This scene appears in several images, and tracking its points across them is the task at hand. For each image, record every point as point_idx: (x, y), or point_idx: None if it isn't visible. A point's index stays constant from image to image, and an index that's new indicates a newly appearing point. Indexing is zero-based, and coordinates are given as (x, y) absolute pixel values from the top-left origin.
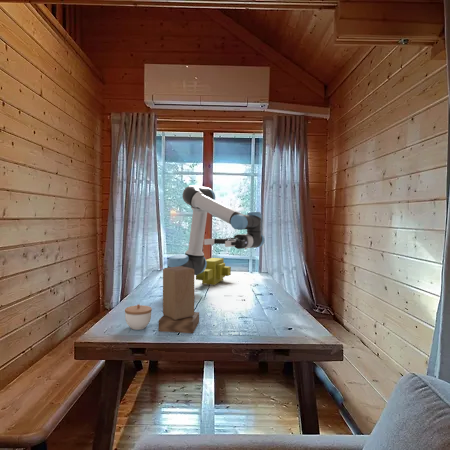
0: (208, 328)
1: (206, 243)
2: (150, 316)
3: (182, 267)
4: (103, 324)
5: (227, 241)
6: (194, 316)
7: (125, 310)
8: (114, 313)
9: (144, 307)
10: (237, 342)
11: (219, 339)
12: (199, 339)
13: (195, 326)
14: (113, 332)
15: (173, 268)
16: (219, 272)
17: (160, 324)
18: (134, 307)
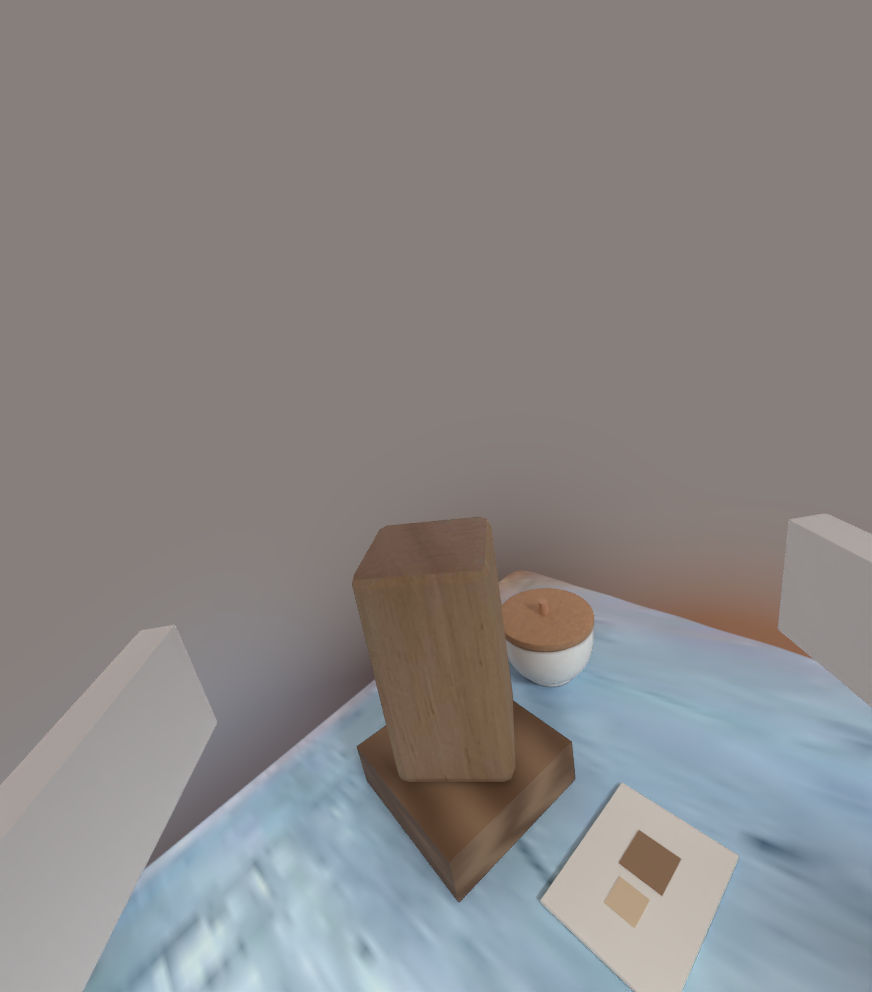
0: (354, 879)
1: (814, 632)
2: (514, 657)
3: (426, 554)
4: (629, 610)
5: (124, 664)
6: (408, 792)
7: (546, 588)
8: (777, 655)
9: (543, 626)
10: (154, 864)
11: (238, 824)
12: (306, 765)
13: (394, 811)
14: None
15: (434, 529)
16: None
17: None
18: (560, 606)
